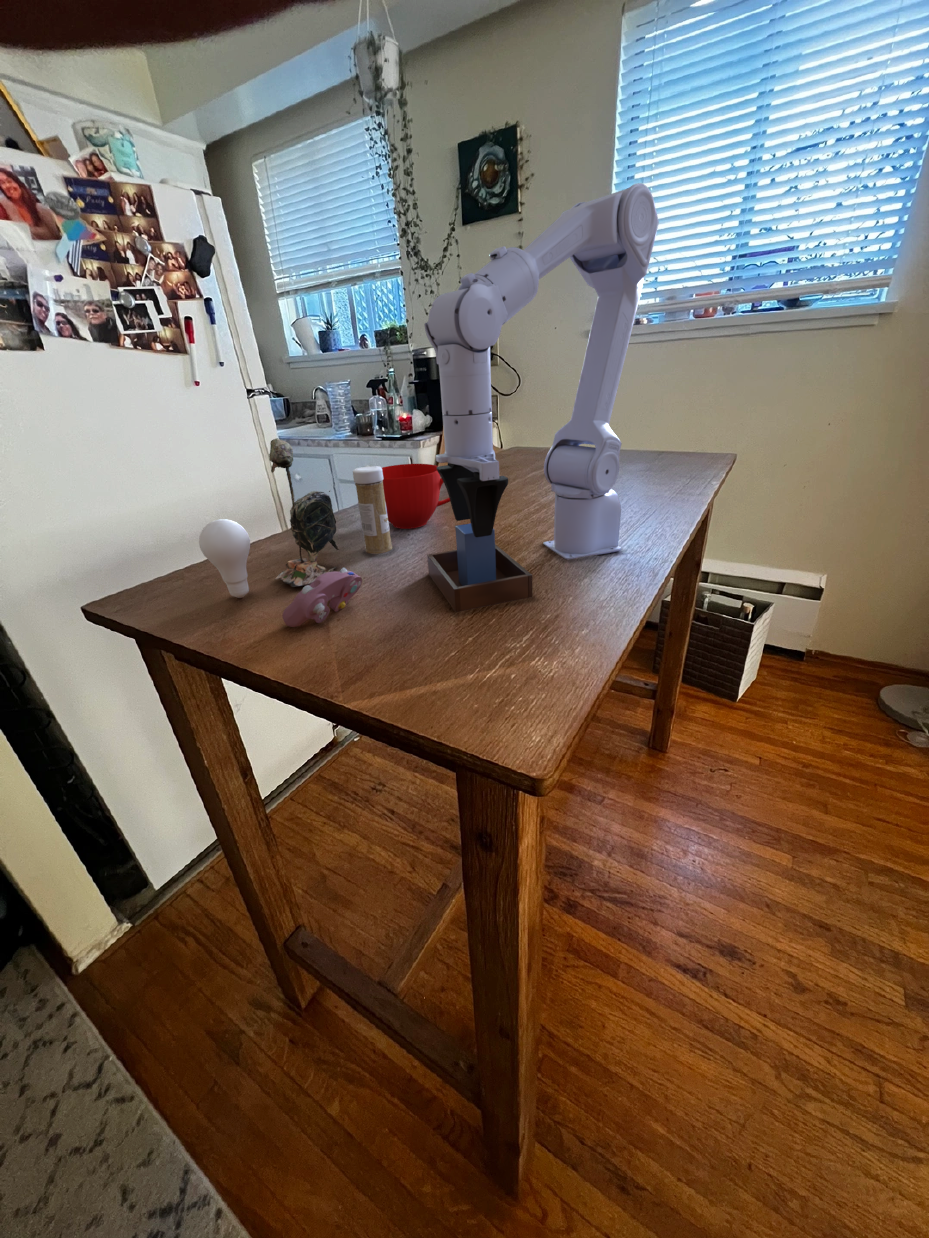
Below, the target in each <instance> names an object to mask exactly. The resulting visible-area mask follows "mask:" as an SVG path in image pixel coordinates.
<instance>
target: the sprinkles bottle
mask: <svg viewBox="0 0 929 1238" xmlns="http://www.w3.org/2000/svg"><path fill="white" fill-rule="evenodd" d="M352 477H353V482H354V485H355V489H356V495H357V504H358V510H359V517H360V523H361V530H362V534H363V538H364V545H365V553H366V554H373V555H378V554H379V555H380V554H385V553H388V552H390V551H391V550H393V545H392V539H391V533H390V530H391V529H390V522H389V521H388V515H387V508H386V502H385V496H384V489H383V472H382V467H381V466H377V465H370V466H369V465H368V466H362V467H361V466H360V467H357V468H354V469H353V470H352Z"/></svg>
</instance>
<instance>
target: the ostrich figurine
mask: <svg viewBox="0 0 929 1238" xmlns="http://www.w3.org/2000/svg"><path fill="white" fill-rule="evenodd" d="M268 457H269V461H270V463H272V465H271V470H270V473H274V472H275V470H276V468H280V469H285V472H286V477H287V481H288V487H289V491H290V497H291V498H290V499H291V505H292V506H291V507H290V510H289V515H290V519H289V523H290V531H291V533H292V537H293V538H294V542H295V545H296V546H298V548H299V557H300V558H296V559H291V560H288V561H287V562H286V563H285V567H286V569H285V570H283V571H281V573H278V575H277V576H276V577H275V578H274V580H275V581H276V580H279V579H280V581H283V582H284V583H285V584H287V585H289V586H290V587H291V588H295V587H302V586H307V585H310V584H311V583H312V582H313V581H314V580H315V579H316V578H317V577H318V576H320V575H321V574H324V573H327V572H333V571H335V570H334V569H336V568H337V566H334V567H332V568H330V569H328V570H327V571H326V567H324V566H321V565H319V563H318V562H317V559H318V555H319V552H321V551H322V550H323V549H324V548H325V547H326V545H327V544H328V543H330V544H331V546H332V547H333V549H335V551H340V548H339V547H338V544H337V543H336V541H335V539H334V536H335V534H336V532H337V526H336V524H337V520H336V516H335V513H334V510H333V504H332V503H333V502H332V499H331V497H330V495H329V494H328V493H330V492H331V490H329V491H328V493H326V492H324V491H318V490H312V491H309V492H308V493H306V494H305V495H304V496H302V497H300V498H297V499H296V501H295V494H294V487H293V482H292V477H291V471H290V468H291V467H292V466H293V462H294V449H293V447H292V445H291V444H290V443H288V442H287V441H285V440H283V439H280V438H273V439H272V440H270V450H269V454H268ZM302 549H303V550H305V551H306V553H307V558H303V557H302Z"/></svg>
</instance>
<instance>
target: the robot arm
mask: <svg viewBox="0 0 929 1238" xmlns="http://www.w3.org/2000/svg"><path fill="white" fill-rule="evenodd" d="M657 212H658V211H657V209H656V203H655V199H654V196H653V193H652V191H651V190H650V189H649V187H648V186H647V185H645V184H644V183H639V182H638V183H635V184H632V185H630V186H629V187H628V188H625V189H622V190H618V191H616V192H612V193H610V194H606V195H604V196H601V197H600V196H599V197H597V198H594V199H592V200H588V201H582V202H581V201H580V202H577V203H575V204H574V205H573V206H571V208H569V209H566V210H564V211H562V212H561V213H560V216H559V217H558V218H557V219H556V220H554V221H553V222H552V223H551V224H550V225H549V226H548V227H547V228H545V230H543V232H541V233H540V234H539V235H538V236H537V237H536V238H535V239H534V240H533V241H531V243H529V244H528V245H527V246H526V247H525V248H524V249H521V248H519V247H516V246H510V247H506V246H505V245H503V246H499V247H496V248H495V249H493V250H492V251H490V252H489V254H488V256H489V259H490V261H489V262H488V263H486V264H485V265H484V266H483V267H481V268H480V269H478V270H477V271H476V272H475V273H473V272H469V273H466V274H465V275H463V276H462V277H461V278H460V279H459V280H460V281H459V282H460V283H461V284H460V285H459V287H458V288H457V290H453V291H449V292H444V293H441V294H439V295H438V296H437V297H436V298H435V299H434V300H433V302H432V304H431V308H430V309H429V312H428V317H427V318H428V319H427V321H426V322H425V323H424V326H423V327H424V332H425V336H426V338H427V340H428V342H429V343H430V345H431V346H432V348H433V350H434V353H435V359H436V365H438V372H439V383H440V398H441V399H440V400H441V412H442V426H443V440H444V442H443V443H444V453H440V454H436V455H435V462H437V463H439V464H445V463H446V465H439V466H438V467H437V471H438V473H439V474H440V478H442V480H443V482H444V483H443V485H444V487H445V489H446V492H447V494H448V498H450V502H449V503H450V506H451V509H452V513H453V515H454V519H455V520H456V522H460V521H466V520H469V521H470V523H471V527H472V531H473V534H474V536H475V537H483V536H489V535H492V531H493V529H494V527H495V522H496V521H495V520H496V517H497V511H498V508H499V504H500V502H501V499H502V496H503V494H504V492H505V490H506V489H507V487H508V485H509V477H507V476H505V475H500V461H499V460H498V459H496V452H495V450H494V443H493V441H494V440H493V437H494V436H493V411H492V410H493V408H492V407H493V405H492V404H493V403H492V374H491V373H492V370H491V368H492V367H491V347H493V346H495V345H496V344H497V342H498V340H499V337H500V335H501V333H502V327H503V326H504V325H505V324H506V323H507V322H508V321H509V320H511V319H512V318H513V317H514V316H515V315H517V314H518V313H519V312H520V311H521V310H523V309H524V308H525V307H526V306H527V305H529V303H531V302H532V301H533V300H534V299H535V298H536V296H537V293H538V291H539V285H540V283H539V282H540V280H541V279H542V278H543V277H545V276H547V274H549V273H550V272H552V271H553V270H554V269H556V268H557V267H559V266H560V265H562V264H563V263H564V262H565V261H567V260H568V259H570V261H571V262H572V263H573V265H574V266H575V268H576V270H577V271H578V272H579V274H580V276H581V277H582V278H583V280H584V281H585V283H586V285H588V286H589V287H591V288H593V289H594V290H595V292H596V294H597V298H596V299H597V300H596V303H595V308H594V312H593V318H592V320H591V321H592V322H591V326H590V331H589V335H588V340H587V345H586V349H585V354H584V358H583V363H582V367H581V371H580V377H579V381H578V386H577V389H576V394H575V399H574V402H573V403H574V404H573V408H572V414H571V417H570V420H569V421H568V422H566V424H564V425H563V426H562V427H560V429H558V430H557V431H556V432H555V433H554V437H553V441H552V443H551V446H550V448H549V450H548V452H547V453H546V456H545V459H544V463H543V474H544V478H545V481H547V483H548V484H550V485H551V492H552V493H553V492H554V520H553V521H554V522H553V540H548V541H543V544H542V545H544V546H545V547H546V548H548V549H549V550H551V551H553V552H554V553H555V554H557V556H560V557H562V558H563V559H564V560H574V559H577V558H585V557H590V556H595V555H596V556H600V555H606V554H610V553H611V554H612V553H615V552H620V551H621V550H622V548H621V546H619V541H620V529H621V528H620V527H621V520H622V519H621V517H622V504H621V500H620V497H619V495H618V493H617V492H616V491H615V490H614V489H612V488H613V487H614V485H615V484H616V482H617V480H618V477H619V474H620V466H621V465H620V453H621V447H622V443H623V442H622V441H621V440H620V438H619V437H618V436H617V435H616V433H615V432H614V431H613V429H612V428H611V427H610V422H611V418H612V414H613V411H614V410H613V409H614V406H615V401H616V397H617V393H618V389H619V385H620V381H621V377H622V372H623V369H624V364H625V360H626V357H627V352H628V348H629V343H630V340H631V336H632V331H633V328H634V324H635V320H636V315H637V311H638V306H639V302H640V299H641V295H642V289H643V285H644V278H645V277H646V275H647V274H648V269H649V265H650V261H651V257H652V252H653V248H654V245H655V241H656V236H657V232H658V229H659V225H660V224H659V223H660V220H659V216H658V213H657ZM585 445H586V446H585ZM587 445H590V446H587ZM591 445H592V446H591ZM593 446H594V447H593Z"/></svg>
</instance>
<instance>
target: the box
mask: <svg viewBox="0 0 929 1238" xmlns="http://www.w3.org/2000/svg"><path fill="white" fill-rule="evenodd" d="M426 559H427V568H428V575H429V577H430V578H431V579H432V581H433V582H434V584H435V585H436V586H437V588H438V589H439V591H440V592H441V593H442V595H443V596H444V598H445V599H446V601H447V602H448V603H449V605H450V607H451V608H452V610H453V611H454V612H455V613H460V612H465V611H469V610H475V609H480V608H485V607H490V606H495V605H499V604H500V605H501V604H505V603H510V602H515V601H521V600H525V599H530V598H533V574H532V573H531V572H529V570H527V569H526V568H525V567H524V566H522V565H521V564H520V563H519V562H518V561H517V560H515V559H514V558H512V556H511V555H509V554H508V553H506V552H505V551H504V549H501V547H500V546H498V545H497V544H496V543H495V561H496V580H493V581H487V582H482V583H477V584H471V585H466V586H462V585H461V583H460V582H459V573H458V558H457V549H452V550H446V551H441V552H433V553H428V554H427V555H426Z"/></svg>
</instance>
